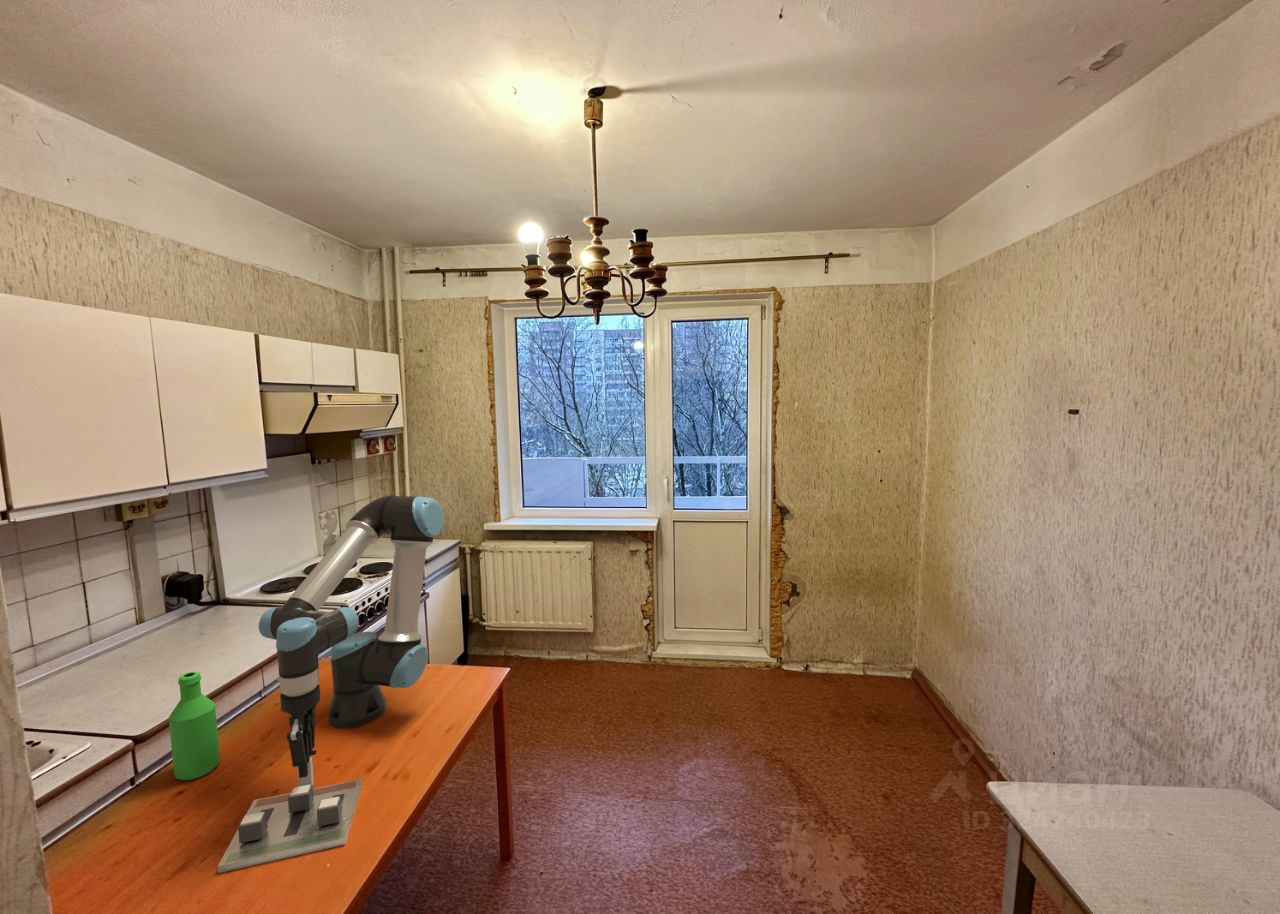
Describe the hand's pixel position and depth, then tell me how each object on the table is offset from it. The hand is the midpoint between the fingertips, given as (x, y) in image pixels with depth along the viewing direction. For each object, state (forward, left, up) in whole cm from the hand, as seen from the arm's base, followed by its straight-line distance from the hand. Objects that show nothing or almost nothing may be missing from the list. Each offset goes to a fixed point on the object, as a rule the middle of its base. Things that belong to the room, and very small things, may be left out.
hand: (306, 786), depth 121 cm
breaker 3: (+10, +7, -2) cm, 13 cm away
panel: (+7, 0, -3) cm, 8 cm away
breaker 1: (+10, -7, -2) cm, 13 cm away
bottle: (-20, -29, -4) cm, 35 cm away
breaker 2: (+4, 0, -2) cm, 5 cm away
